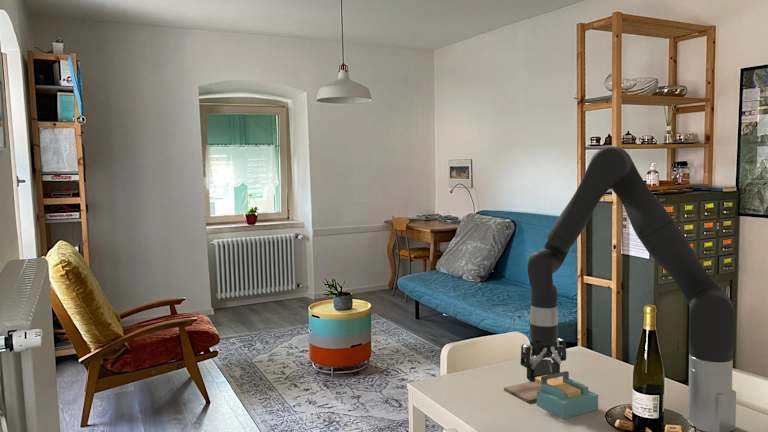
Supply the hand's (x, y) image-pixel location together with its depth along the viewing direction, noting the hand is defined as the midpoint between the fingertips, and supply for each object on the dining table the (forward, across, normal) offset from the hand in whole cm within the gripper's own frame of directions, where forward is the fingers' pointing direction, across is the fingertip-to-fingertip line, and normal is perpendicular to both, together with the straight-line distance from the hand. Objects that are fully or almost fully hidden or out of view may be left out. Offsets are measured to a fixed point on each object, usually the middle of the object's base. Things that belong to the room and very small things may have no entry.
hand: (543, 378), depth 164 cm
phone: (+6, +14, +18) cm, 24 cm away
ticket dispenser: (+5, 0, -9) cm, 10 cm away
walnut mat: (+5, 0, +4) cm, 6 cm away
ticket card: (+1, 0, -5) cm, 5 cm away
